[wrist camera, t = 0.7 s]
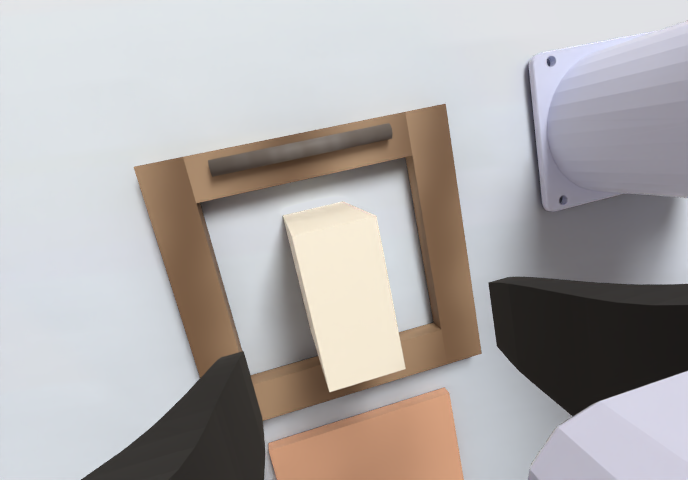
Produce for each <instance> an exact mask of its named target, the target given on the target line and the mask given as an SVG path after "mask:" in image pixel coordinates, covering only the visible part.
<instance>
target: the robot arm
mask: <svg viewBox="0 0 688 480" xmlns="http://www.w3.org/2000/svg"><path fill="white" fill-rule="evenodd" d="M547 58H548V59H549V60H550V62H551V63H550V66H548V65H547ZM529 74H530V84H531V95H532V105H533V115H534V125H535V135H536V145H537V155H538V165H539V175H540V185H541V195H542V204H543V207H544V209H545V210H547V211H559V210H563V209H567V208H570V207H574V206H578V205H582V204H586V203H590V202H594V201H598V200H602V199H605V198H609V197H613V196H617V195H621V194H625V193H629V194H642V195H654V196H667V197H680V198H688V21H685V22H682V23H679V24H676V25H673V26H670V27H667V28H664V29H661V30H658V31H652V32H647V33H642V34H637V35H631V36H626V37H621V38H615V39H610V40H605V41H600V42H594V43H589V44H584V45H578V46H573V47H568V48H563V49H557V50H552V51H547V52H541V53H538V54H536V55H534V56H533V57H532V58H531V59H530V61H529ZM561 196H562V198H563V199H562V202H561V203H559V198H560V197H561ZM489 290H490V298H491V305H492V313H493V320H494V328H495V335H496V342H497V347H498V348H499V349H500V350H501V351H502V352H503V354H504V355H505V356H506V357H507V358H508V360H509V361H510V362H511V363H512V364H513V365H514V366H515V367H516V368H517V369H518V370H519V371H520V372H521V373H522V374H523V375H524V376H525V377H527V378H528V379H529V380H530V381H531V382H532V383H534V384H535V385H536V386H537V387H538V388H539V389H541V390H542V391H543V392H544V393H545V394H547V395H548V396H549V397H550V398H551V399H553V400H554V401H555V402H556V403H557V404H559V405H560V406H561V407H562V408H563V409H565V410H566V411H567V412H568V413H569V414H571V415H572V416H573V417H571V418H570V419H568V420H567V421H565V422H563V423H562V424H560V425H559V426H557V427H556V428H555V429H554V431H553V432H552V434H551V435H550V437H549V438H548V440H547V441H546V443H545V444H544V446H543V447H542V449H541V450H540V451H539V453H538V454H537V456H536V457H535V459H534V460H533V462H532V463H531V466H530V469H529V476H528V480H688V284H673V285H634V284H611V283H594V282H581V281H570V280H559V279H548V278H535V277H507V278H504V279H500V280H496V281H493V282H489ZM264 469H265V442H264V430H263V419H262V415H261V411H260V408H259V404H258V401H257V397H256V394H255V390H254V386H253V383H252V379H251V376H250V372H249V369H248V365H247V362H246V358H245V355H244V351H242V352H238V353H235V354H231V355H228V356H224V357H221V358H219V359H218V360H217V361H216V362H215V363H214V364H213V365H212V366H211V367H210V368H209V369H208V370H207V371H206V373H205V374H204V375H203V376H202V377H201V378H200V379H199V380H198V381H197V382H196V384H195V385H194V386H193V387H192V388H191V389H190V390H189V391H188V392H187V393H186V394H185V395H184V396H183V397H182V398H181V399H180V400H179V401H178V402H177V403H176V404H175V405H174V406H173V407H172V408H171V409H170V410H169V411H168V412H167V413H166V414H165V415H164V416H163V417H162V418H161V419H160V420H159V421H158V422H157V423H156V424H154V425H153V426H152V427H151V428H150V429H149V430H148V431H146V432H145V433H144V434H143V435H141V436H140V437H139V438H138V439H137V440H135V441H134V442H133V443H132V444H130V445H129V446H128V447H127V448H125V449H124V450H123V451H121V452H120V453H119V454H117V455H116V456H114V457H113V458H111V459H110V460H109V461H107V462H106V463H104V464H103V465H101V466H100V467H99V468H97V469H96V470H94V471H93V472H91V473H90V474H89V475H87V476H86V477H84V478H83V479H81V480H264Z"/></svg>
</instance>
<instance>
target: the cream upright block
mask: <svg viewBox="0 0 688 480" xmlns="http://www.w3.org/2000/svg"><path fill="white" fill-rule="evenodd" d="M283 219H284V223H285V227H286V231H287V235H288V239H289V243H290V248H291V252H292V256H293V260H294V264H295V268H296V272H297V276H298V281H299V285H300V289H301V293H302V297H303V301H304V305H305V310H306V314H307V318H308V322H309V326H310V330H311V333H312V337H313V340H314V343H315V346H316V350H317V353H318V356H319V360H320V363H321V366H322V369H323V373H324V376H325V379H326V383H327V386H328V389H329V392H332V391H335V390H339V389H342V388H345V387H348V386H352V385H355V384H358V383H361V382H365V381H368V380H371V379H375V378H378V377H381V376H384V375H388V374H391V373H394V372H397V371H401V370H404V369H406V368H405V363H404V358H403V353H402V347H401V342H400V337H399V332H398V326H397V321H396V316H395V311H394V305H393V300H392V295H391V290H390V284H389V279H388V274H387V269H386V264H385V258H384V253H383V248H382V243H381V237H380V232H379V227H378V222H377V216H375V215H373V214H371V213H368V212H366V211H364V210H361V209H359V208H357V207H355V206H352V205H350V204H348V203H345V202H339V203H334V204H330V205H326V206H321V207H317V208H313V209H309V210H304V211H300V212H296V213H291V214H287V215H283Z"/></svg>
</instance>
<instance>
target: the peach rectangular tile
mask: <svg viewBox="0 0 688 480" xmlns="http://www.w3.org/2000/svg"><path fill="white" fill-rule="evenodd" d="M269 453H270V457H271V460H272V464H273V467H274V471H275V474H276V478H277V480H464V479H463V473H462V467H461V461H460V455H459V449H458V443H457V437H456V431H455V425H454V419H453V413H452V407H451V401H450V395H449V392H448V391H447V390H446V389H445V387H444V388H441V389H438V390H435V391H432V392H429V393H425V394H422V395H419V396H416V397H413V398H410V399H407V400H403V401H400V402H397V403H394V404H391V405H388V406H384V407H381V408H378V409H375V410H372V411H369V412H365V413H362V414H359V415H356V416H353V417H350V418H347V419H343V420H340V421H337V422H334V423H331V424H328V425H324V426H321V427H318V428H315V429H312V430H309V431H305V432H302V433H299V434H296V435H293V436H290V437H287V438H283V439H280V440H277V441H274V442H271V443H269Z"/></svg>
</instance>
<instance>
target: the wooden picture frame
mask: <svg viewBox="0 0 688 480" xmlns="http://www.w3.org/2000/svg"><path fill="white" fill-rule="evenodd" d="M404 157H406V163H407V169H408V175H409V181H410V187H411V193H412V199H413V205H414V211H415V216H416V222H417V228H418V234H419V240H420V246H421V252H422V258H423V264H424V270H425V275H426V281H427V287H428V293H429V299H430V305H431V311H432V317H433V323H430V324H427V325H423V326H420V327H416V328H413V329H409V330H406V331H403V332H399V337H400V342H401V347H402V353H403V358H404V363H405V368H406V369H404V370H401V371H397V372H394V373H391V374H388V375H384V376H381V377H378V378H375V379H371V380H368V381H365V382H361V383H358V384H355V385H352V386H348V387H345V388H342V389H339V390H335V391H332V392H329V389H328V386H327V383H326V379H325V376H324V373H323V369H322V366H321V363H320V360H319V356H316V357H313V358H309V359H306V360H302V361H299V362H295V363H292V364H288V365H285V366H282V367H278V368H275V369H271V370H268V371H264V372H261V373H257V374H254V375H250V376H251V379H252V383H253V386H254V390H255V394H256V397H257V401H258V404H259V408H260V411H261V415H262V419H263V421H264V420H267V419H270V418H274V417H277V416H280V415H283V414H287V413H290V412H293V411H296V410H300V409H303V408H306V407H309V406H313V405H316V404H319V403H322V402H326V401H329V400H332V399H335V398H339V397H342V396H345V395H348V394H352V393H355V392H358V391H361V390H365V389H368V388H371V387H374V386H378V385H381V384H384V383H387V382H391V381H394V380H397V379H400V378H404V377H407V376H410V375H413V374H417V373H420V372H423V371H426V370H430V369H433V368H436V367H439V366H443V365H446V364H449V363H452V362H456V361H459V360H462V359H465V358H469V357H472V356H475V355H478V354H482V353H481V346H480V340H479V333H478V326H477V319H476V312H475V305H474V298H473V291H472V284H471V277H470V270H469V263H468V256H467V249H466V242H465V235H464V229H463V222H462V215H461V208H460V201H459V194H458V187H457V180H456V173H455V166H454V159H453V152H452V145H451V138H450V131H449V124H448V118H447V111H446V104H442V105H437V106H432V107H427V108H422V109H417V110H412V111H408V112H403V113H398V114H393V115H388V116H383V117H378V118H373V119H368V120H363V121H358V122H353V123H348V124H343V125H338V126H333V127H329V128H324V129H319V130H314V131H309V132H304V133H299V134H294V135H289V136H284V137H279V138H274V139H269V140H264V141H259V142H254V143H249V144H245V145H240V146H235V147H230V148H225V149H220V150H215V151H210V152H205V153H200V154H195V155H190V156H185V157H180V158H175V159H170V160H166V161H161V162H156V163H151V164H146V165H141V166H136V167H134V170H135V173H136V176H137V179H138V182H139V185H140V189H141V192H142V195H143V198H144V201H145V204H146V208H147V211H148V214H149V217H150V220H151V223H152V227H153V230H154V233H155V236H156V239H157V243H158V246H159V249H160V252H161V255H162V258H163V262H164V265H165V268H166V271H167V274H168V277H169V281H170V284H171V287H172V290H173V293H174V296H175V300H176V303H177V306H178V309H179V312H180V315H181V319H182V322H183V325H184V328H185V331H186V334H187V338H188V341H189V344H190V347H191V350H192V354H193V357H194V360H195V363H196V366H197V369H198V373H199V376H200V378H201V377H202V376H203V375H204V374H205V373H206V371H207V370H208V369H209V368H210V367H211V366H212V365H213V364H214V363H215V362H216V361H217V360H218V359H219V358H221V357H224V356H228V355H231V354H235V353H238V352H242V348H241V345H240V341H239V338H238V334H237V331H236V327H235V324H234V320H233V317H232V313H231V310H230V306H229V303H228V299H227V296H226V292H225V289H224V285H223V282H222V278H221V275H220V271H219V268H218V264H217V261H216V257H215V254H214V250H213V247H212V243H211V240H210V236H209V232H208V229H207V225H206V222H205V218H204V215H203V211H202V208H201V204H200V202H204V201H209V200H213V199H218V198H222V197H227V196H231V195H236V194H240V193H245V192H250V191H254V190H259V189H263V188H268V187H272V186H277V185H281V184H286V183H290V182H295V181H299V180H304V179H309V178H313V177H318V176H322V175H327V174H331V173H336V172H340V171H345V170H349V169H354V168H358V167H363V166H368V165H372V164H377V163H381V162H386V161H390V160H395V159H399V158H404Z"/></svg>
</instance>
